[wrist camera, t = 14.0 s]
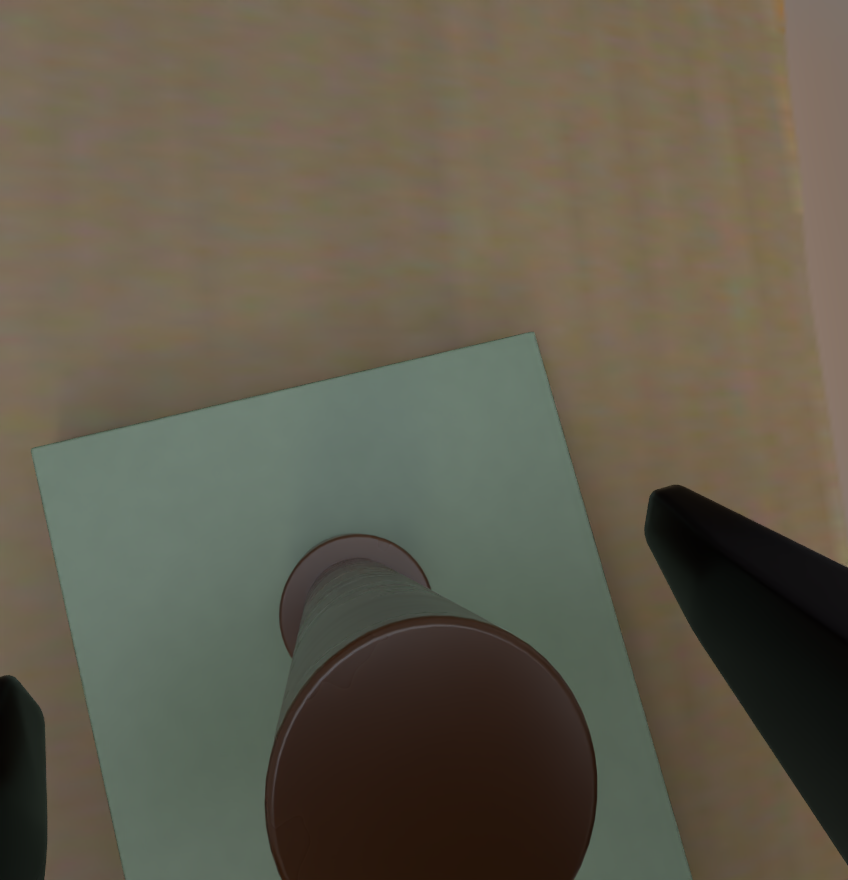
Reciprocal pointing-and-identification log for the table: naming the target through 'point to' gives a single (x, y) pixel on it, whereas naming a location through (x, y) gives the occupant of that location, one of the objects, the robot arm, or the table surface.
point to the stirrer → (418, 734)
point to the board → (280, 549)
